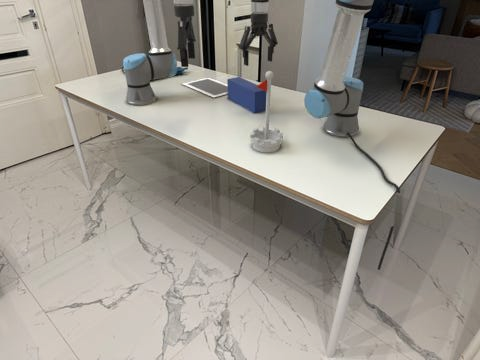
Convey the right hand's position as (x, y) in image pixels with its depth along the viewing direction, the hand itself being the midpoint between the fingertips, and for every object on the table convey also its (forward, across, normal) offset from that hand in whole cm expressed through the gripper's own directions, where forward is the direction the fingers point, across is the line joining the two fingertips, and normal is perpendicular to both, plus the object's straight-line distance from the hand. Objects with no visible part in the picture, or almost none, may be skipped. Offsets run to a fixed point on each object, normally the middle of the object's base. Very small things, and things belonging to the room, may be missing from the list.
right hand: (258, 63), depth 158 cm
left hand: (-5, +35, -1) cm, 35 cm away
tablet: (+23, +2, -44) cm, 50 cm away
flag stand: (+23, +20, +34) cm, 46 cm away
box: (+23, 0, -9) cm, 25 cm away
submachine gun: (+23, +17, -86) cm, 91 cm away
